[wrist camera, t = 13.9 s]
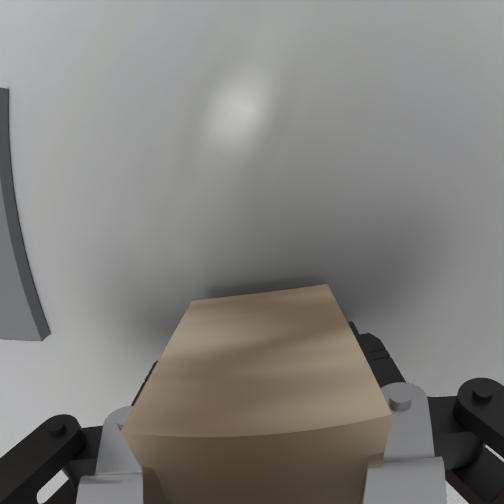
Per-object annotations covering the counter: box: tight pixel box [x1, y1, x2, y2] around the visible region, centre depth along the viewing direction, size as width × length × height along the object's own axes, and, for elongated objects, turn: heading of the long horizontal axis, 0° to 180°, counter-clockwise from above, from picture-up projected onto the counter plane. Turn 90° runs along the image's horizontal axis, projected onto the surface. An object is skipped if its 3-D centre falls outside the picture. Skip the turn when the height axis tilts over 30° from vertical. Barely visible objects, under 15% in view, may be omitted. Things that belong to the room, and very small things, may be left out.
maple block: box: [121, 284, 392, 504], centre depth 8 cm, size 4×4×6 cm
